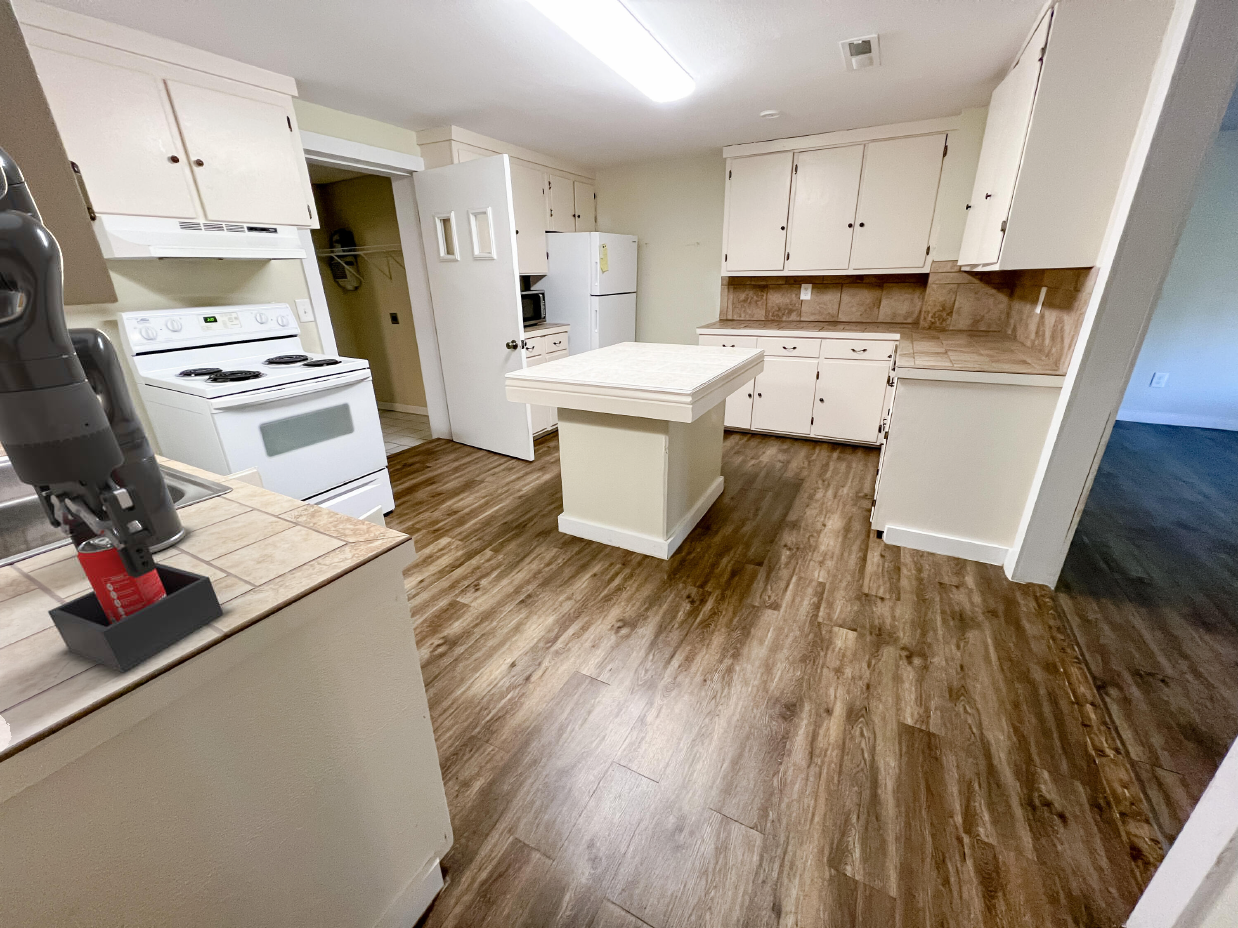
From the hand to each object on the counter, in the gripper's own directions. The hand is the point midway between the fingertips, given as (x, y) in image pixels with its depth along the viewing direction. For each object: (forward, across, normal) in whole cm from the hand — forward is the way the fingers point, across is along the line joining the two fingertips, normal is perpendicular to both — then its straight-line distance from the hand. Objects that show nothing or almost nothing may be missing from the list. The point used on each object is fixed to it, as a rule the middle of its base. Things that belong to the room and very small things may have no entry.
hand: (120, 566), depth 55 cm
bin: (+9, 0, 0) cm, 9 cm away
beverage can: (+9, 0, 0) cm, 9 cm away
